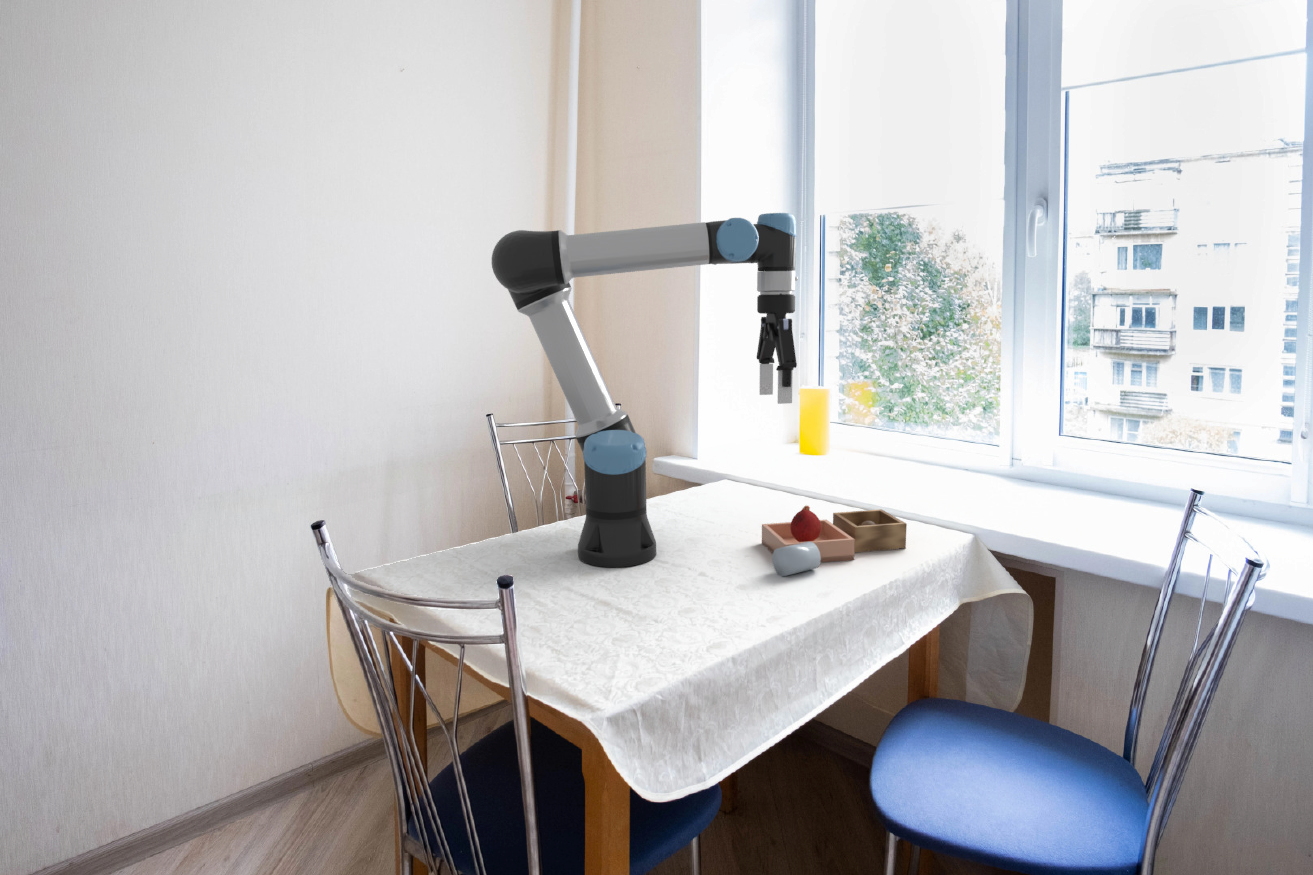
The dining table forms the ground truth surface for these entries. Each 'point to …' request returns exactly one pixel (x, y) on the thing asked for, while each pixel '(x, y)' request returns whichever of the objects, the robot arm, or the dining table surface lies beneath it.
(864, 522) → the chestnut
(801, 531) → the onion
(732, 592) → the dining table surface
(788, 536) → the tray
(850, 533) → the crate
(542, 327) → the robot arm
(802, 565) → the pale blue capsule
